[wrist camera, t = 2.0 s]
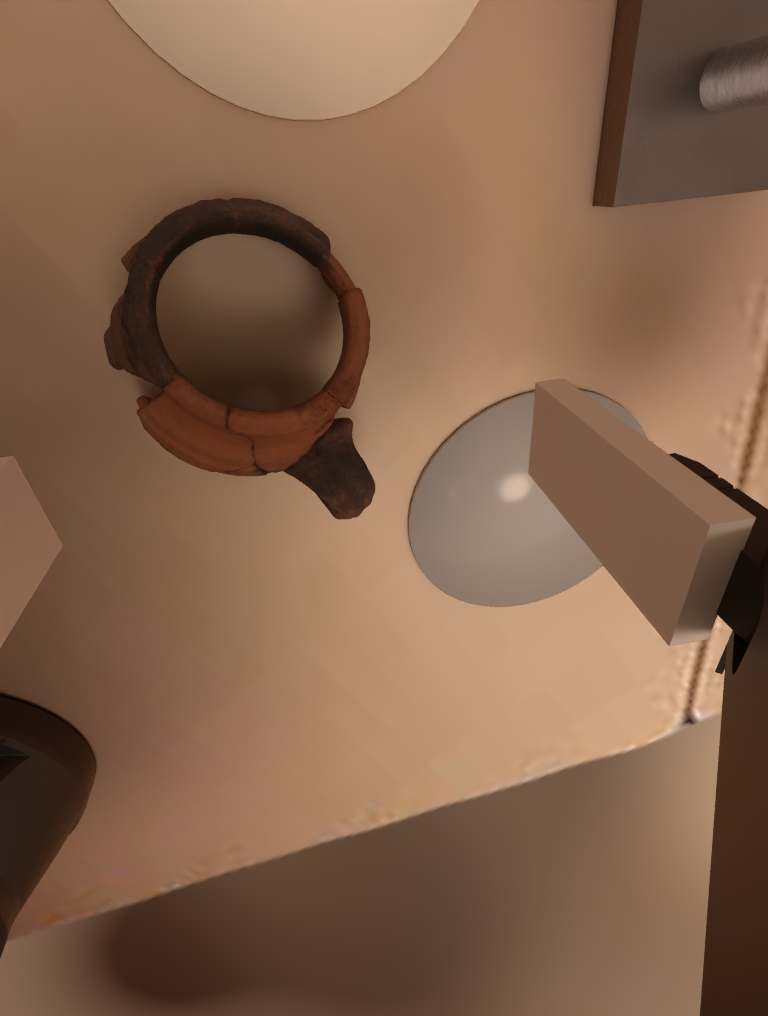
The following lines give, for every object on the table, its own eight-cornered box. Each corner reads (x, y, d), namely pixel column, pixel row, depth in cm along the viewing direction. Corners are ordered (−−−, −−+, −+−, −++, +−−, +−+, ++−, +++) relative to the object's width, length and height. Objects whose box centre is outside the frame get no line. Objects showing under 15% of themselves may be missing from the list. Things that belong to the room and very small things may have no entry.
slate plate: (414, 621, 31) (415, 625, 31) (399, 410, 24) (401, 412, 23) (625, 581, 33) (628, 584, 33) (675, 369, 25) (679, 371, 25)
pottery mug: (75, 366, 21) (2, 296, 13) (241, 228, 23) (264, 97, 15) (284, 561, 24) (325, 597, 16) (413, 426, 26) (504, 401, 18)
